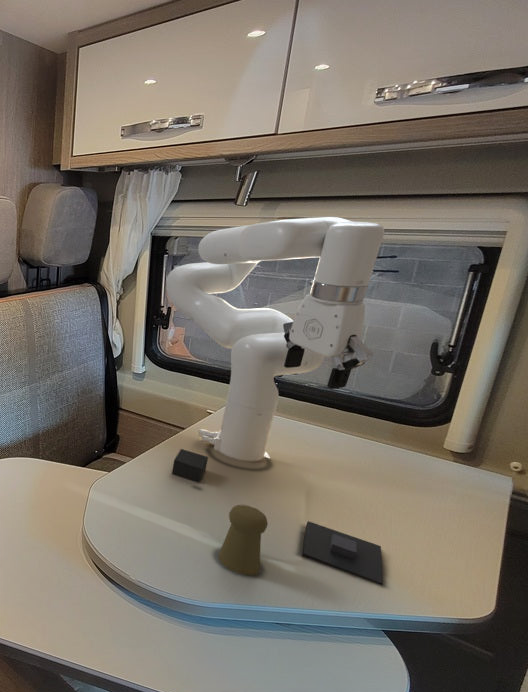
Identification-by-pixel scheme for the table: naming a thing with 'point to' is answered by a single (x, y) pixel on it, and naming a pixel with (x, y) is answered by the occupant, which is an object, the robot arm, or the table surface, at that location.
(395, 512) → the table surface
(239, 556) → the cork
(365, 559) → the base pad
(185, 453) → the pad
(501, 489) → the table surface
